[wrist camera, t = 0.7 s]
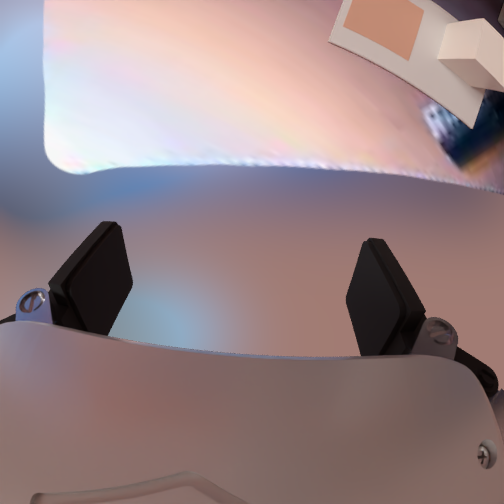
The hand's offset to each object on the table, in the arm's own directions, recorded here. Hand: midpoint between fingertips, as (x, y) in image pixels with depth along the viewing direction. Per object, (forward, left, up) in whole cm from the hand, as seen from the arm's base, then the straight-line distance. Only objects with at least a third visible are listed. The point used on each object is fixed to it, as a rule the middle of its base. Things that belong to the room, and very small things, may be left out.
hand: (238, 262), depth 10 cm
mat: (-24, +18, -29) cm, 41 cm away
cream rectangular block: (-26, +24, -28) cm, 45 cm away
